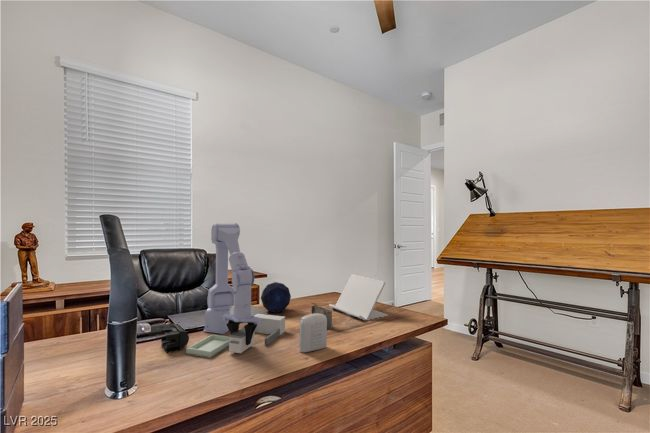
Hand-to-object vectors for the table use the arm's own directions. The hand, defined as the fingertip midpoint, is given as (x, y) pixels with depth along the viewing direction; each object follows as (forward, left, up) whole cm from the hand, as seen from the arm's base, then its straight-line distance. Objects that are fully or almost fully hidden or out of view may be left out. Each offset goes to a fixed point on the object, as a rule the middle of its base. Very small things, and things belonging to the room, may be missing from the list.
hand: (241, 343), depth 114 cm
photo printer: (+23, +9, -3) cm, 25 cm away
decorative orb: (-10, +48, -3) cm, 49 cm away
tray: (-11, -2, -2) cm, 11 cm away
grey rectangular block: (0, 0, -2) cm, 2 cm away
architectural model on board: (+18, +35, -3) cm, 40 cm away
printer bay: (0, +15, -2) cm, 15 cm away
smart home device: (-41, +7, -3) cm, 42 cm away
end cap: (-24, -5, -3) cm, 25 cm away
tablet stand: (+29, +60, -3) cm, 67 cm away
